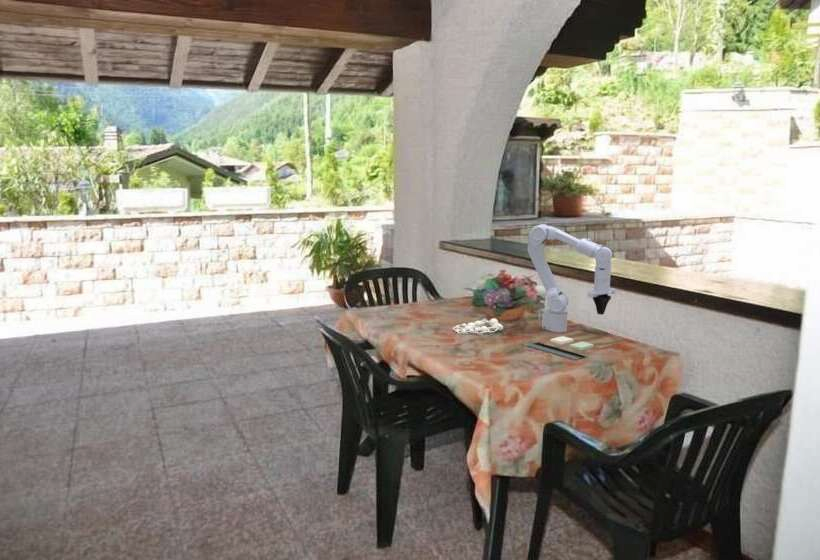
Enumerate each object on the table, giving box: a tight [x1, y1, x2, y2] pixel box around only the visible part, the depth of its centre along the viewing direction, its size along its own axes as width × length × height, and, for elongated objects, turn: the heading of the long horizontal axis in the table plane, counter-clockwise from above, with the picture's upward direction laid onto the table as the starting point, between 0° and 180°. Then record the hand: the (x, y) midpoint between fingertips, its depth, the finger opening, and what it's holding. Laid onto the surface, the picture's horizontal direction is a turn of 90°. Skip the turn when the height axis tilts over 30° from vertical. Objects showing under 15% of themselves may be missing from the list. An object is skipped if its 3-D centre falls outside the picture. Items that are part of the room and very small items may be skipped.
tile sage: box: [569, 342, 594, 351], centre depth 211 cm, size 5×7×2 cm
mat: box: [526, 342, 588, 361], centre depth 213 cm, size 22×14×1 cm, turn 36°
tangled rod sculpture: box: [452, 317, 504, 335], centre depth 239 cm, size 19×14×4 cm
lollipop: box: [535, 285, 547, 320], centre depth 257 cm, size 6×6×15 cm
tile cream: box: [549, 336, 574, 346], centre depth 219 cm, size 5×7×2 cm
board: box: [556, 330, 624, 349], centre depth 222 cm, size 20×14×2 cm
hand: (600, 314), depth 227 cm, fingers closed
